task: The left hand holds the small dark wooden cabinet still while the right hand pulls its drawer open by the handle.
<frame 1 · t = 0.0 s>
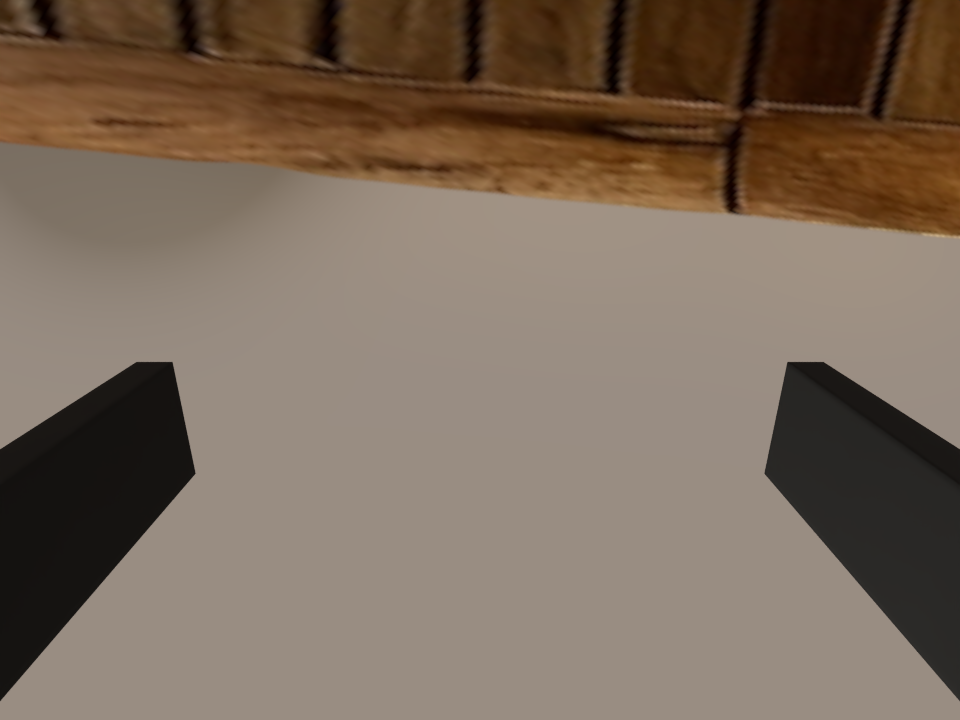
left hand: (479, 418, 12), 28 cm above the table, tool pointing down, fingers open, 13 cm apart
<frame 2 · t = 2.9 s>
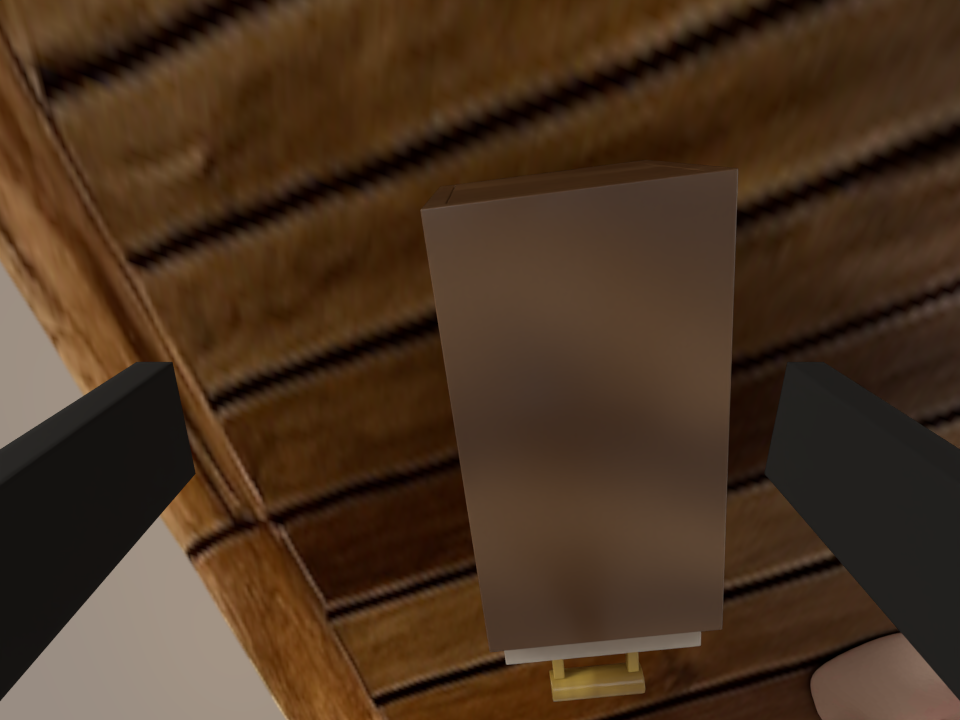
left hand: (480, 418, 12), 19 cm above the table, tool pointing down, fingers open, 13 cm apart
anatomical model: (898, 688, 42), on the table
drawer: (579, 492, 29), point 5 cm above the table, slide at 0.7 cm
cabinet: (557, 355, 32), on the table
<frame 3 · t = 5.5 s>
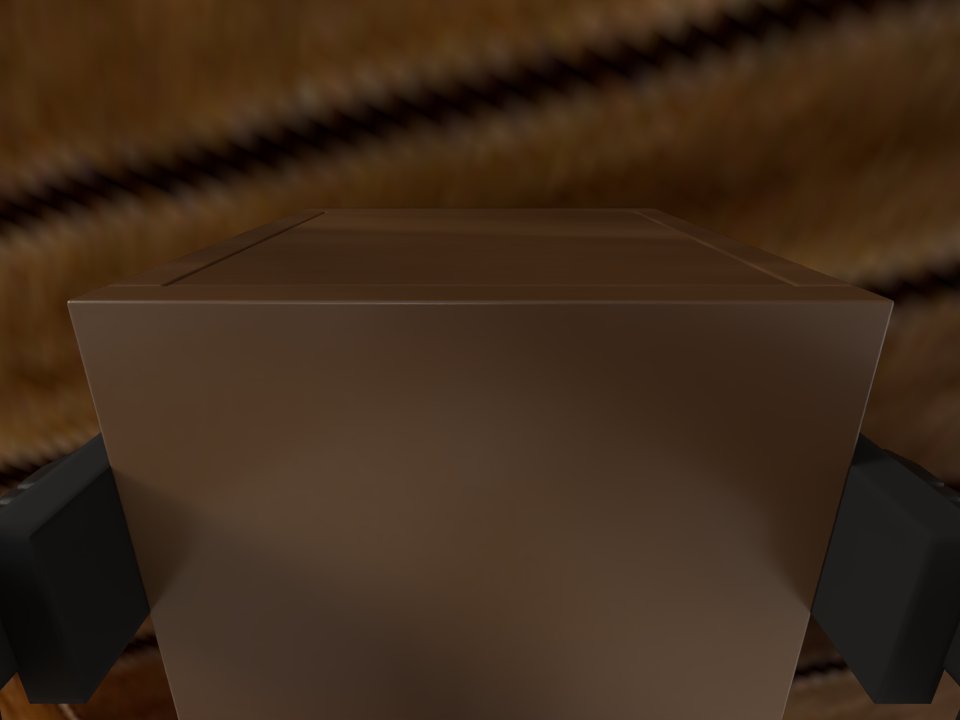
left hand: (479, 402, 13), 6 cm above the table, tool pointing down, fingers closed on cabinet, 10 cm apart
cabinet: (480, 487, 21), on the table, touching left hand
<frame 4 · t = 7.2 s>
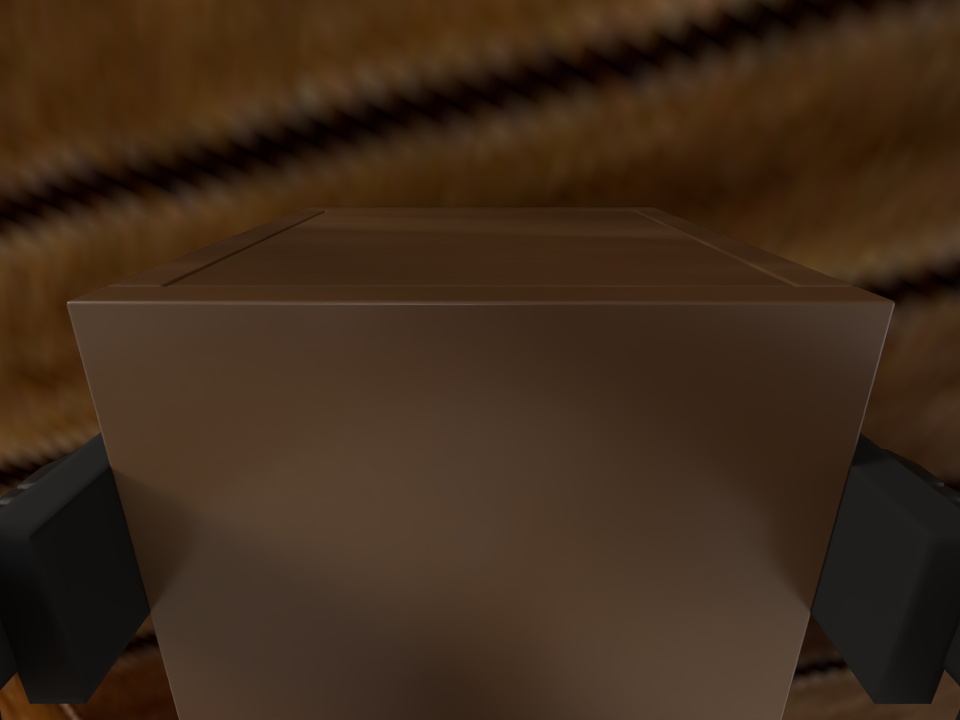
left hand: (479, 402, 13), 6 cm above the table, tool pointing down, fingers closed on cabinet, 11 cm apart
cabinet: (480, 486, 21), on the table, touching left hand
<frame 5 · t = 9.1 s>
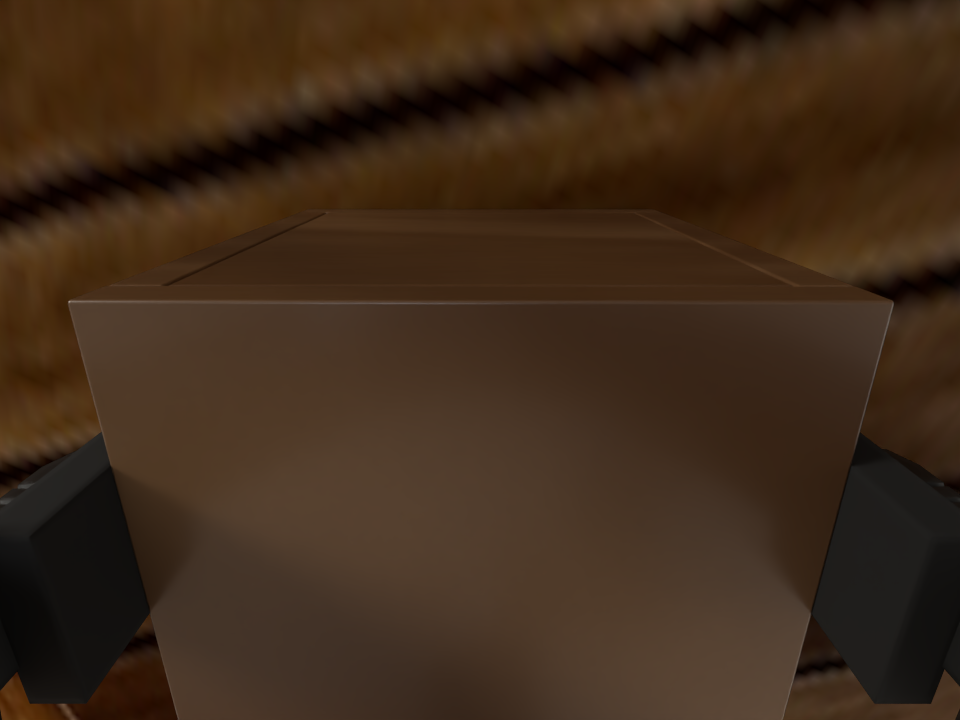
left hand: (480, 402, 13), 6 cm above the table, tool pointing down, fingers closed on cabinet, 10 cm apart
cabinet: (480, 488, 21), on the table, touching left hand
when the left hand's fingers open (6 cm above the table, at t = 10.6 s): cabinet stays where it is, on the table.
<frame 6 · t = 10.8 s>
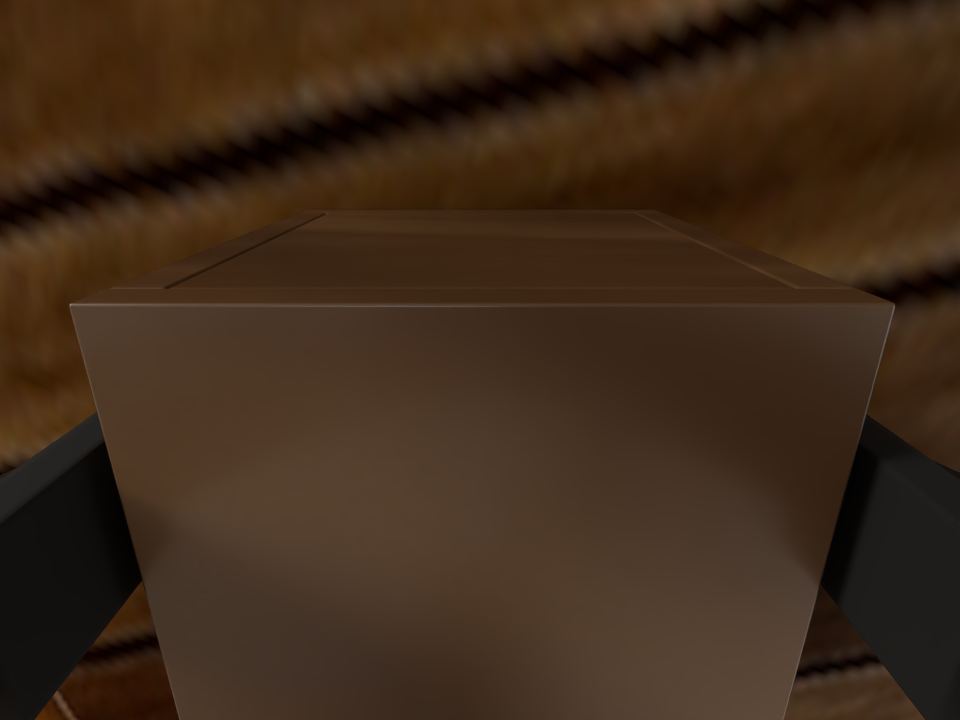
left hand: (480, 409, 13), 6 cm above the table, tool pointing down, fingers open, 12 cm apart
cabinet: (480, 488, 21), on the table
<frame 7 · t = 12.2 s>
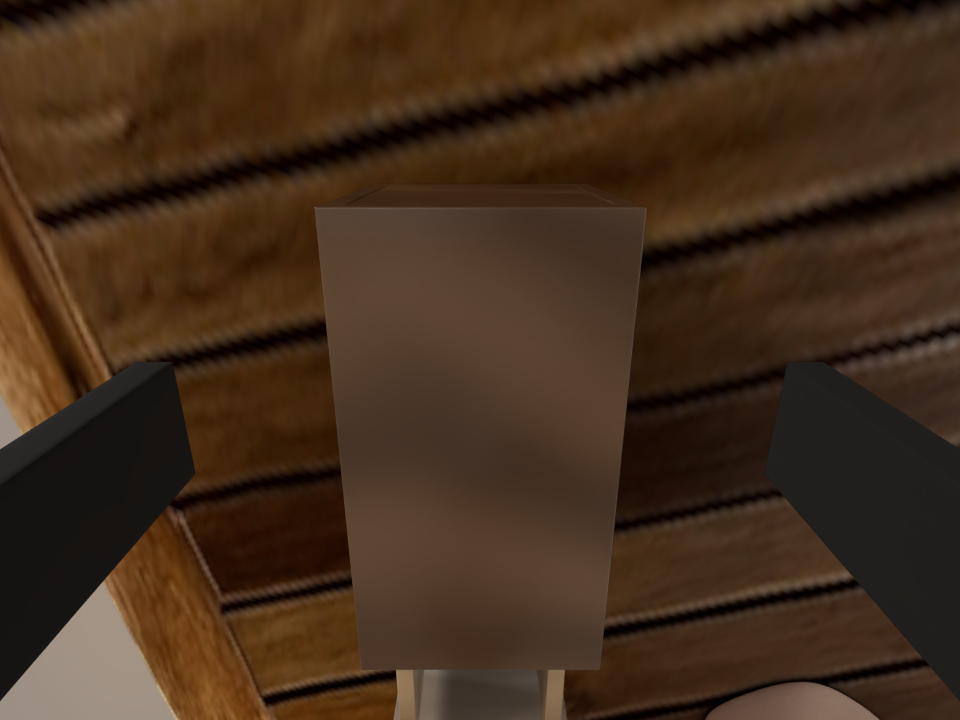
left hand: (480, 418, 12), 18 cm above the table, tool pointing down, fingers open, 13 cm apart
drawer: (480, 614, 31), point 5 cm above the table, slide at 7.3 cm
cabinet: (480, 370, 32), on the table
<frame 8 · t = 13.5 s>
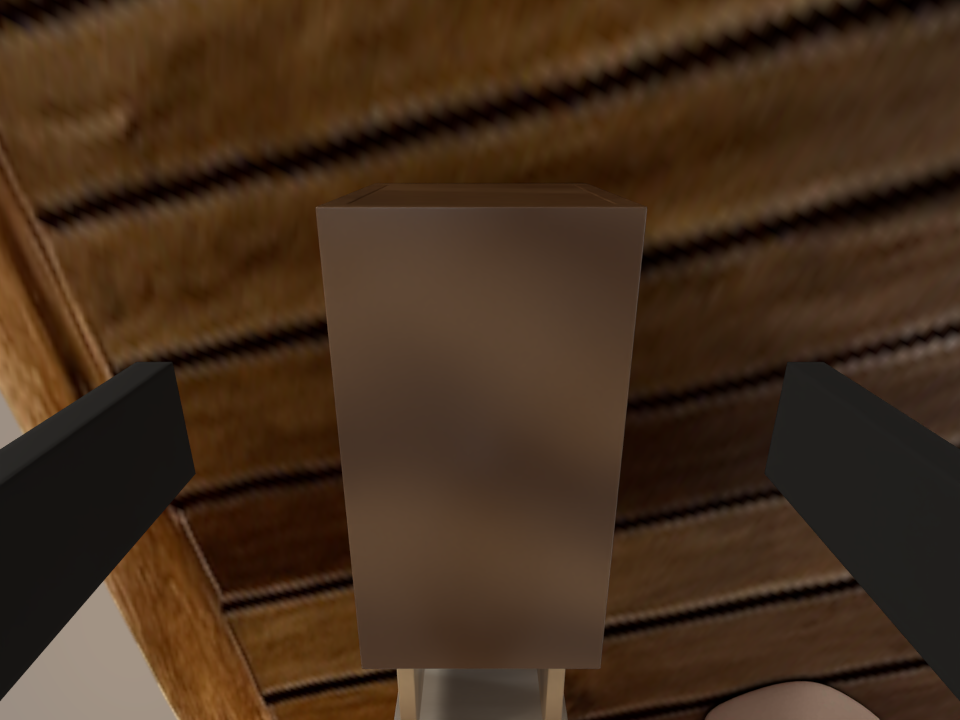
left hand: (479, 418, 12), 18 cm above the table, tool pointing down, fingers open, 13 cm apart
drawer: (480, 613, 31), point 5 cm above the table, slide at 7.3 cm
cabinet: (480, 370, 32), on the table
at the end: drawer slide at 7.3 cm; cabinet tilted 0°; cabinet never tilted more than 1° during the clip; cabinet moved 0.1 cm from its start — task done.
